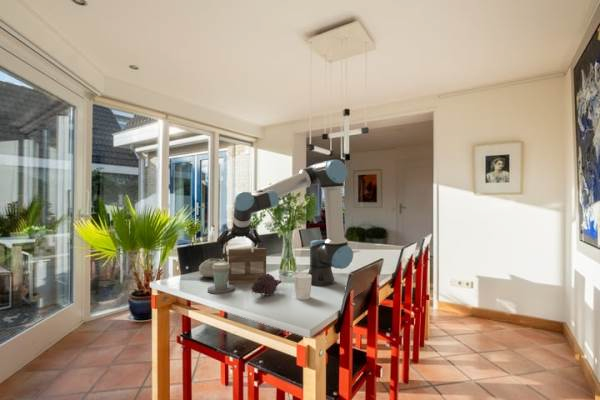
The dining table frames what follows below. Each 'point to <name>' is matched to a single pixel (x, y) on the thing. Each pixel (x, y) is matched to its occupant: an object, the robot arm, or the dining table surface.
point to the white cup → (303, 286)
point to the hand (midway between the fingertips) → (238, 250)
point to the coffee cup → (221, 274)
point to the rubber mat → (222, 291)
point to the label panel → (246, 265)
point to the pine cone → (265, 284)
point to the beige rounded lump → (208, 267)
